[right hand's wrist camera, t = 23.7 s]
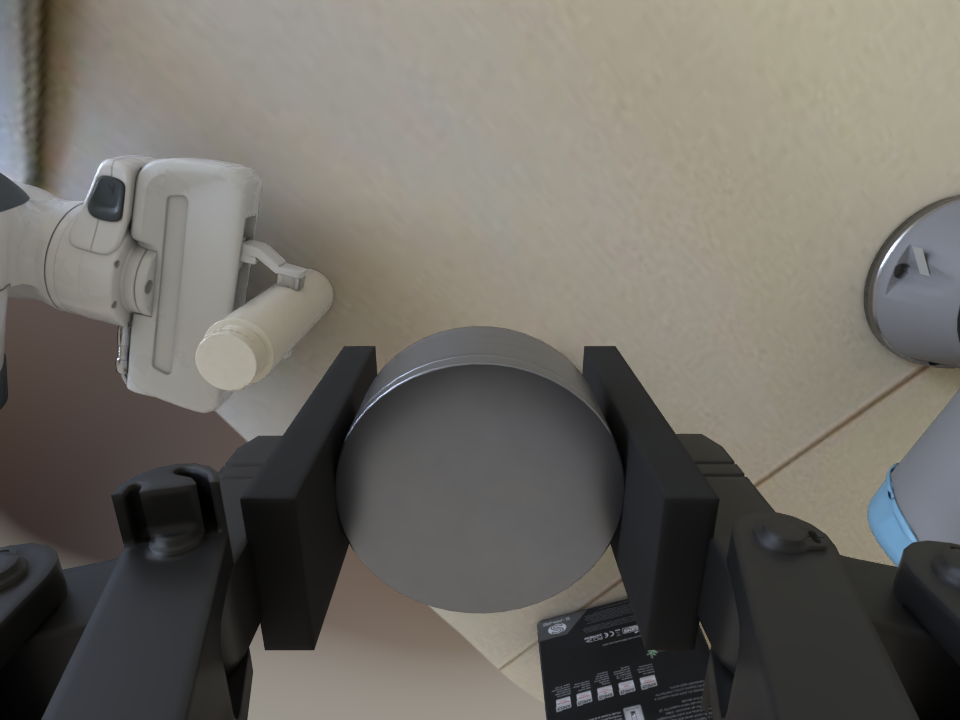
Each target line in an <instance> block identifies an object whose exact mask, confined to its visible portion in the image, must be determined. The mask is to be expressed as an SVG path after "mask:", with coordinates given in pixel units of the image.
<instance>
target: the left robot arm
mask: <svg viewBox="0 0 960 720" xmlns="http://www.w3.org/2000/svg"><path fill="white" fill-rule="evenodd" d="M261 190H262V180H261V179H260V177H259V176H258V175H257V174H256V173H255V171H254V170H253V169H252V168H250V167H247V166H243V165H239V164H235V163H230V162H225V161H219V160H212V159H203V158H168V159H157V158H153V157H148V156H140V155H130V156H120V157H114V158H110V159H106V160H104V161H103V162H102V163H101V164H100V166H99V168H98V170H97V172H96V175H95V177H94V180H93V182H92V185H91V187H90V190H89V192H88V194H87V197H86V199H85V201H67V200H63V199H60V198H58V197H56V196H54V195H52V194H51V193H49V192H47V191H45V190H43V189H40V188H38V187H34V186H31V185H27V184H23V183H19V182H15V181H11V180H10V179H8V178H7V177H6V176H4V175H3V174H1V173H0V409H1V408H2V407H3V406H4V405H5V403H6V401H7V399H8V385H7V366H6V356H5V353H4V347H5V331H6V314H7V298H14V299H36V300H40V301H42V302H45V303H46V304H48V305H50V306H51V307H53V308H55V309H58V310H60V311H63V312H67V313H71V314H75V315H78V316H82V317H86V318H90V319H94V320H99V321H103V322H107V323H110V324H114V325H118V335H117V345H118V356H117V358H116V371H117V373H119V374H121V377H122V379H123V381H124V383H125V384H126V385H127V387H128V389H130V390H131V391H133V392H136V393H140V394H144V395H148V396H153V397H157V398H159V399H161V400H164V401H167V402H169V403H172V404H175V405H177V406H180V407H183V408H186V409H190V410H193V411H196V412H200V413H209V412H211V411H214V410H216V409H218V408H219V407H221V406H222V405H223V404H224V403H225V402H226V401H227V400H228V399H229V398H230V396H231V395H232V393H233V391H227V390H222V389H220V388H217V387H215V386H213V385H211V384H210V383H208V382H207V381H206V380H205V379H204V378H203V377H202V375H201V374H200V372H199V370H198V368H197V365H196V351H197V348H198V346H199V343H200V342H201V341H202V339H203V338H204V336H205V334H206V332H207V331H208V329H209V328H210V327H211V326H212V325H214V324H215V323H216V322H218V321H219V320H221V319H222V318H224V317H226V316H227V315H229V314H230V313H232V312H233V311H235V310H236V309H238V308H239V307H241V306H242V305H244V304H245V302H246V295H247V288H248V281H249V274H250V267H251V264H253V265H254V264H256V263H258V262H260V261H261V262H262V263H264V264H265V265H266V266H267V267H268V268H269V269H271V270H272V271H273V272H274V273H275V274H277V275H278V276H277V283H276V285H278V286H282V287H286V286H288V287H289V288H291V289H294V290H300V289H301V288H303V287H304V282H305V277H306V272H307V269H305V268H303V267H299V266H296V265H292V264H288V263H286V261H285V260H284V259H283V258H282V257H281V256H280V255H279V254H278V253H277V252H276V251H275V250H274V249H273V248H272V247H271V246H270V245H268V244H267V243H263V242H260V241H256V240H254V239H255V232H256V225H257V218H258V211H259V204H260V197H261ZM292 352H293V348H292V349H291V350H290V351H289V352H288V353H287V354H286V355H285V357H284V358H283V359H287V358H289V357H290V356H291V355H292ZM127 374H128V377H127Z"/></svg>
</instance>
